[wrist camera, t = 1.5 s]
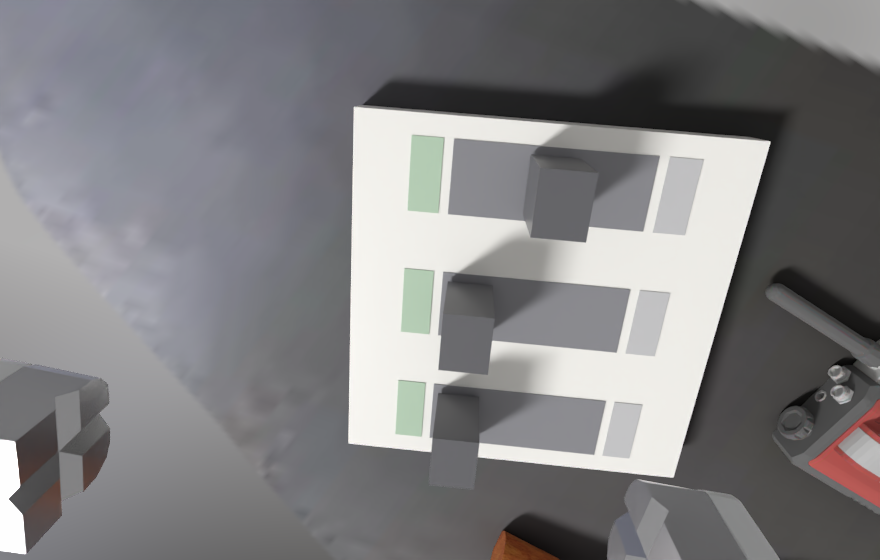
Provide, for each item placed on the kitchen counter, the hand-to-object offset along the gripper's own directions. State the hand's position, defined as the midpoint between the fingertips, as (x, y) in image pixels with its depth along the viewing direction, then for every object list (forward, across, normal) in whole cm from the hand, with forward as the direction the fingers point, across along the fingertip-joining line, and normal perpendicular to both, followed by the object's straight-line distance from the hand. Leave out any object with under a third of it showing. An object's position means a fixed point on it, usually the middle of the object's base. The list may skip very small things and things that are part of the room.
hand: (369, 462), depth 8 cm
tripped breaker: (+20, -6, -2) cm, 21 cm away
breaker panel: (+22, -7, +5) cm, 24 cm away
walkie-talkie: (+22, -27, +8) cm, 36 cm away
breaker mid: (+20, -3, +6) cm, 21 cm away
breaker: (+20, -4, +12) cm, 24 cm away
